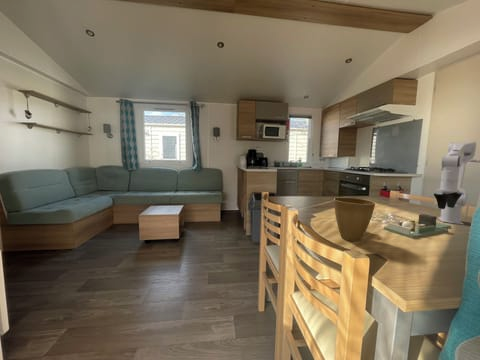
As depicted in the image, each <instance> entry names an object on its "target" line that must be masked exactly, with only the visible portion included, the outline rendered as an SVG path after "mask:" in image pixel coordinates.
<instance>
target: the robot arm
mask: <svg viewBox="0 0 480 360" xmlns="http://www.w3.org/2000/svg"><path fill="white" fill-rule="evenodd" d="M476 150H477V142H476V141H465V142H464V141H462V142H461V141H460V142H459V141H458V142H449V144H448V148H447V151H448V152H447V154H446V155H444V156H442V157H441V164H440V165H441V169H440V170H441V176H440V177H441V179H440V187H439V188H436V192H435V193H433V196H434V198H435V199H436V203H437V207H438V209H441V210H440V216H437V219H439V220H440V221H441V222H442V223H450V224H457V225H464V223H463V222H462V221H461V219H462V213H463V207H466V206H467V203H468V197H469V196H468V195H469V193H468V191H467V190H465V189H463V188H462V187H463V181H464V177H465V173H466V167H467V163H468V162H469V161H470V160H473V159H474V157H475V154H476Z"/></svg>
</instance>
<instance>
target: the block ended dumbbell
mask: <svg viewBox="0 0 480 360" xmlns="http://www.w3.org/2000/svg"><path fill="white" fill-rule="evenodd" d="M437 219H438V216H434V215H431V214H426V213H421V214H419V215H418V219H417V220H418V221H417V222H418V223H414V222H411V223H412V224H413V228H412V229H414V230H415V226H416V224H420V227H426V226H432V225H434V226H435V227H436V222H437ZM408 221H409V222H410V221H411V220H408ZM420 227H419V228H420Z"/></svg>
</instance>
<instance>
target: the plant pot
mask: <svg viewBox="0 0 480 360" xmlns="http://www.w3.org/2000/svg"><path fill="white" fill-rule="evenodd" d="M333 205H334V214H335V219H336V225H337V229H338V232H339V235H340V237H341V238H342V239H343V240H346V241H349V242H350V241H351V242H360V241H362V239H363V238H364V236H365V234H366V232H367V229H368V227H369V224H370V222H371V220H372V217H373V213H374V209H375V206H376V201H375V202H374V201H372V200H368V199H364V198H357V197H343V196H342V197H334V198H333Z"/></svg>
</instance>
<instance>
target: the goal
mask: <svg viewBox="0 0 480 360" xmlns="http://www.w3.org/2000/svg"><path fill="white" fill-rule="evenodd" d="M400 222H401V218H396V219H395V223H393V222H388V224H387V227H388V228H389V229H392V230H395V231H399V232H402V233H405V234H408V235H411V233H419V227H420V224H416V226H415V232H412V231H411V228H407V227H404V226H400V225H399V223H400Z"/></svg>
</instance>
